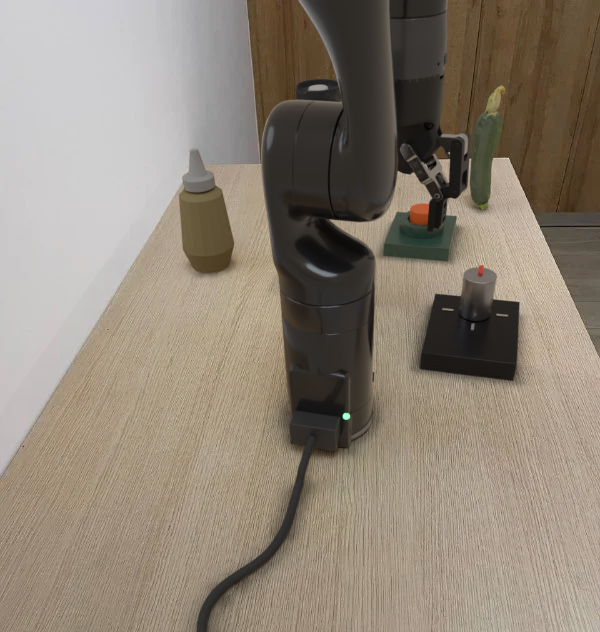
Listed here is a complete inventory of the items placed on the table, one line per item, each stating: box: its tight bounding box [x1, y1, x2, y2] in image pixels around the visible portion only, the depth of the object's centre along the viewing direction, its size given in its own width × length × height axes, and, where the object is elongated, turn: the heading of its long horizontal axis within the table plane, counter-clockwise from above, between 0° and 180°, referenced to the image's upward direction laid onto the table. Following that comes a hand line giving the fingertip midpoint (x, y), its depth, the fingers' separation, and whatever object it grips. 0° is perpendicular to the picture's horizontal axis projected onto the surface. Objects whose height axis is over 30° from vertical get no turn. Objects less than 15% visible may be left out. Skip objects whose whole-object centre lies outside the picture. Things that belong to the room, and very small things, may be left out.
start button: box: [409, 202, 429, 225], centre depth 101 cm, size 4×4×2 cm
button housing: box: [383, 210, 458, 262], centre depth 103 cm, size 12×10×4 cm
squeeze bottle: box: [178, 148, 235, 274], centre depth 95 cm, size 8×8×18 cm
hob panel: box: [419, 293, 521, 382], centre depth 81 cm, size 14×11×3 cm
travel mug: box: [295, 78, 342, 102], centre depth 112 cm, size 8×8×20 cm
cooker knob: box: [459, 264, 498, 321], centre depth 81 cm, size 4×4×6 cm
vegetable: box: [469, 84, 506, 211], centre depth 107 cm, size 4×4×20 cm
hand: (397, 223), depth 72 cm, fingers open, 8 cm apart
